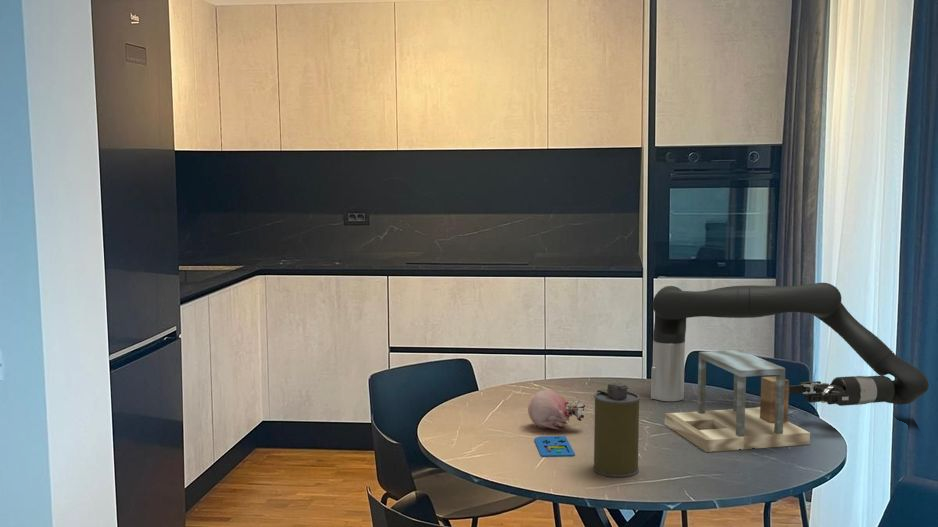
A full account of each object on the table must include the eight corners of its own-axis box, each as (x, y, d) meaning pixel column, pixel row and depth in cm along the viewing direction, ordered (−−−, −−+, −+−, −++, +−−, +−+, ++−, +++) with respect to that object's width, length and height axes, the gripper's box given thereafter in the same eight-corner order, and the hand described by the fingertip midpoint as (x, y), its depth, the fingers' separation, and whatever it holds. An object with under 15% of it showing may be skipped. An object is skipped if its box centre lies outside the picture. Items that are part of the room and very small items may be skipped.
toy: (588, 417, 249) (533, 410, 253) (589, 383, 245) (533, 377, 248) (581, 443, 239) (524, 435, 242) (581, 408, 234) (524, 401, 238)
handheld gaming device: (565, 434, 236) (575, 453, 221) (565, 438, 236) (575, 457, 221) (533, 435, 235) (541, 454, 220) (533, 439, 235) (541, 458, 220)
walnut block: (769, 423, 237) (771, 381, 236) (759, 418, 242) (761, 377, 241) (787, 422, 239) (789, 380, 237) (777, 416, 243) (778, 376, 242)
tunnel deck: (705, 452, 224) (707, 373, 222) (664, 424, 247) (666, 352, 245) (809, 444, 230) (812, 367, 228) (759, 418, 253) (762, 348, 251)
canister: (648, 472, 210) (650, 386, 208) (613, 480, 204) (615, 392, 202) (616, 459, 219) (617, 376, 217) (582, 467, 213) (583, 382, 211)
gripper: (838, 370, 250) (783, 373, 247) (871, 382, 236) (813, 386, 233) (837, 397, 251) (783, 401, 248) (869, 411, 237) (812, 415, 234)
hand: (797, 394), depth 241 cm, fingers open, 8 cm apart
